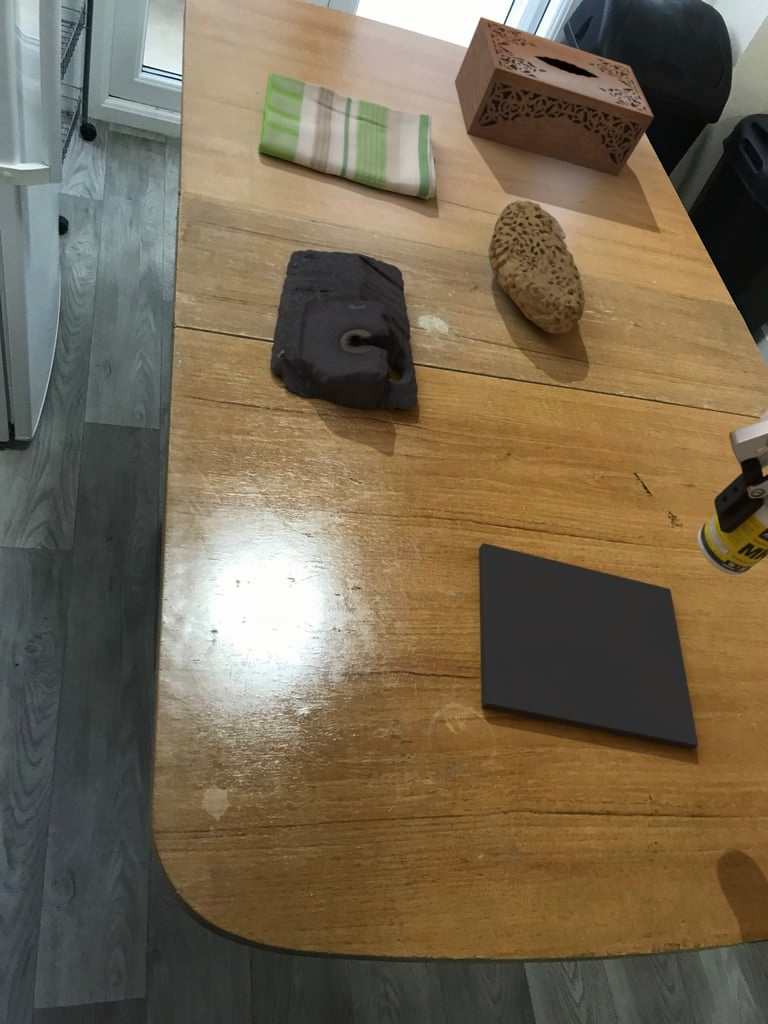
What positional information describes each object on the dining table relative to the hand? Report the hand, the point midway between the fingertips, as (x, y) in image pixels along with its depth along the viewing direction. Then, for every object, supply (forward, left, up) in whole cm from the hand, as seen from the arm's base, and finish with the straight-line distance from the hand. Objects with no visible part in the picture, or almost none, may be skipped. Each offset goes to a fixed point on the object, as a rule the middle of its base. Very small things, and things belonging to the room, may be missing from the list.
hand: (754, 524), depth 62 cm
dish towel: (+32, -67, -20) cm, 76 cm away
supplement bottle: (0, 0, -4) cm, 4 cm away
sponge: (+7, -49, -20) cm, 53 cm away
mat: (+4, +1, -20) cm, 20 cm away
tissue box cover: (+3, -90, -20) cm, 92 cm away
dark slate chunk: (+29, -31, -20) cm, 46 cm away
